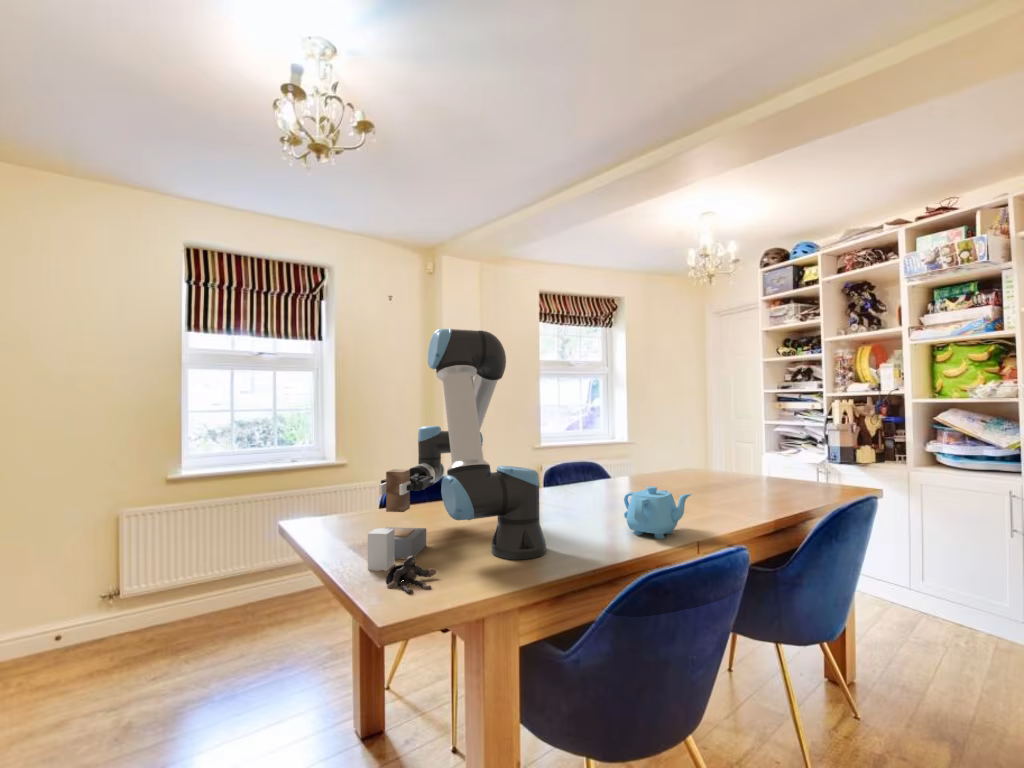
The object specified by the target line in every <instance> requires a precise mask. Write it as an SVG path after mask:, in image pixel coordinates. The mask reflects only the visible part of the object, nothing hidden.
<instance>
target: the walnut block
mask: <svg viewBox="0 0 1024 768" xmlns="http://www.w3.org/2000/svg"><path fill="white" fill-rule="evenodd" d="M385 479H386V493H385V499H386V500H385V503H386V504H385V508H386V509H385V511H386V512H387V513H405V512H406V511H409V509H410V508H411V491H409V492H407V493H405V494H403V495H399V485H401V484H403V483H405V482H408V481H410V470H409V468H407V469H405V468H404V469H401V468H400V469H390V470H388V471H385Z"/></svg>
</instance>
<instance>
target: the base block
mask: <svg viewBox="0 0 1024 768" xmlns="http://www.w3.org/2000/svg"><path fill="white" fill-rule="evenodd" d="M384 529H395V559H402V558H407V557H408V556H415V557H416V554H417V555H418V554H419V553H420V552H421V551H422V550H423V549H424V548H426V547H427V528H426V527H399V526H398V527H392V526H389V527H388V526H386V527H384ZM425 546H426V547H425Z"/></svg>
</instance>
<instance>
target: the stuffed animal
mask: <svg viewBox="0 0 1024 768" xmlns="http://www.w3.org/2000/svg"><path fill="white" fill-rule="evenodd" d="M416 564H417V559H416V555H415V556H408V557H407V558H406V559H404V561H403V564H399V565H395V566H394V565H393V566H392V567H391V568H390V570H389V571H388V572H387V576H386V578H385V583H386V587H387V589H388V590H391V589H392V588H395V589H397V588H398V587H400V590H401V591H402V592H404V591H405V592H404V593H406V592H407V593H406V594H412V593H413V592H414V589H413V588H411V587H409V586H408V585H409V583H411V584H410V585H412V584H415V585H414V586H417V585H419V586H418V587H421V589H423V588H425V589H424V590H429V589H428V588H431V589H432V585H430V584H429V585H428V584H426V582H424V581H423V580H417V579H415V578H416V577H417V576H418V578H419V577H420V578H421V577H424V578H431V577H433V576H435V575H436V574H437V569H436V568H433V567H431V568H424V569H423V568H422V567H421V566H420V565H416ZM414 577H415V578H414ZM402 580H404V581H402ZM401 581H402V582H401ZM411 592H412V593H411Z"/></svg>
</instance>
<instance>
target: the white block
mask: <svg viewBox="0 0 1024 768" xmlns="http://www.w3.org/2000/svg"><path fill="white" fill-rule="evenodd" d="M395 559H396V558H395V529H385V528H384V527H383V528H381V527H379V528H377V527H376V528H374V529H373V530H371V531H369V532H367V570H368V571H380V570H384V572H386V571H388V570H389V568H390V567H391V566H392V567H394V565H395V562H396V561H395ZM392 567H391V568H392ZM391 568H390V569H391Z"/></svg>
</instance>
